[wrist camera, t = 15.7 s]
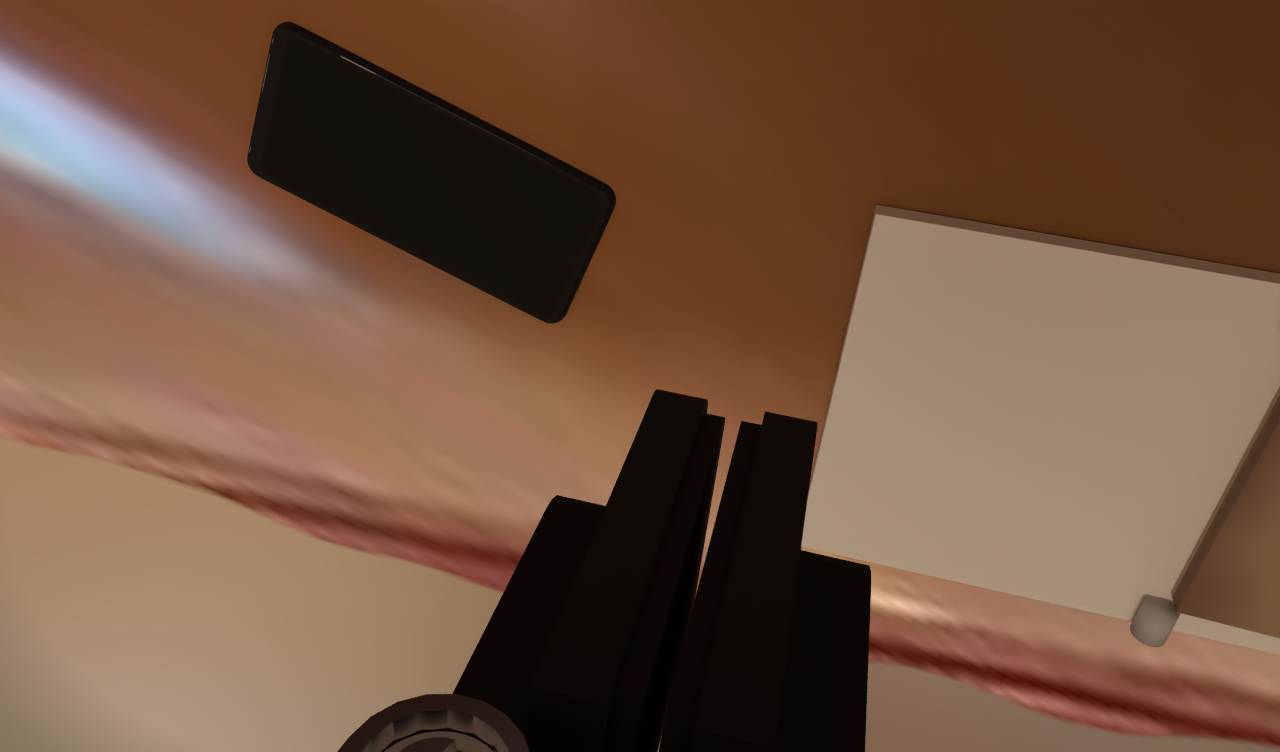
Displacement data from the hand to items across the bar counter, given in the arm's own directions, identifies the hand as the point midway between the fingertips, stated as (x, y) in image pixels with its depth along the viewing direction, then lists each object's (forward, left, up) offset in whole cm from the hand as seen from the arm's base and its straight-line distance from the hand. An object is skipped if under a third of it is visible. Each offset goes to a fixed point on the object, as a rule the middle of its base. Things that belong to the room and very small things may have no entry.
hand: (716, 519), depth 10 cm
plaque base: (-4, +22, -27) cm, 35 cm away
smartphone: (+17, -4, -28) cm, 33 cm away
